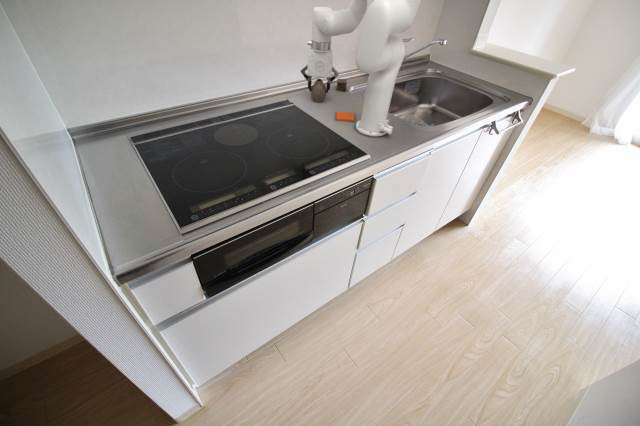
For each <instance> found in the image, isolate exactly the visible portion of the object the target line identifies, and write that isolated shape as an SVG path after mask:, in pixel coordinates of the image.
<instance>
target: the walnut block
mask: <svg viewBox="0 0 640 426" xmlns="http://www.w3.org/2000/svg"><path fill="white" fill-rule="evenodd" d="M336 79H337V80H336V91H337V92H346V91H347V84H348V80H347V79H345V78H336Z"/></svg>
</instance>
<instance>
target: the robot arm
mask: <svg viewBox="0 0 640 426" xmlns="http://www.w3.org/2000/svg"><path fill="white" fill-rule="evenodd" d="M421 2H422V0H373V1H372V2H370V4H369V5H368V3H369V0H350V2H349V5H348V7H347V8H346V9H337V10H333V9H332V8H331V7H329V6H322V5H321V6H315V7H314V8H313V11H312V22H311V23H312V24H311V40H308V41H307V45H308V46H310V48H309V51H308V56H307V64H306V65H305V66H304V67H302V68H301V69H300V73H301V75H302V77H304V79H305V80H306V82H307V89H308V92H310V93H311V88H312V83H313V82H312V78H323V79H326V80H327V82H326V94H328V93H329V91H330V90H331V84H332V83H333V82H334V80H335V79H337V78H338V76H339V75H340V73H339V71H338V70H337V69H336V68H335V67H334V66H333V64H334V63H333V62H334V61H333V56H334V55H333V49H332V48H331V46H332V37H337V36H341V35H342V36H343V35H348V34H352V33H353V32H354V31H355V30H356V29H357V28H358V27H359V25H360V24H362V25H361V29H360V32H359V36H358V39H357V44H356V47H355V53H354V61H355V66H356V68H357V69H358V71H359V72H361V73H362V74H367V75H368V77H367V80H366V87H365V92H364V97H363V104H362V110H361V116H360V119H359V120H358V121H356V123H355V130H357V132H359V134H360V133H361V134H362V135H365V136H368V137H382V136H385V135H387V134H388V135H392V133H393V131H394V127H393V126H392V125H389V122H390V120H389V119H387V118H388V114H389V109H390V106H391V102H392V98H393V93H394V89H395V85H396V81H397V77H398V75H399V72H400V69H401V66H402V64H403V62H404V58H405V54H406V46H405V43H404V41H403V40H402V39H401V37H399V36H397V35H399V34H402V33H405V32H406V31H408V30H410V28H411V26H412V25H413V22H414V21H415V18H416V15H417V13H418V10H419V7H420V5H421ZM362 20H363V21H362ZM361 22H362V23H361ZM306 72H307V73H306ZM332 74H333V75H332Z"/></svg>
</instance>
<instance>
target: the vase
mask: <svg viewBox="0 0 640 426" xmlns="http://www.w3.org/2000/svg"><path fill="white" fill-rule="evenodd" d="M326 90H327V85H325V84H324V82H323V79H321V78H317V79H316V80H315V82H314V83H313V84H312V85H311V91H310V96H311V99H312V100H313V102H316V103H321V102H323V101H324V100H325V99H326V97H327V93H326Z"/></svg>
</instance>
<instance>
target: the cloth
mask: <svg viewBox="0 0 640 426" xmlns="http://www.w3.org/2000/svg"><path fill="white" fill-rule="evenodd" d="M335 114H336V115H335V117H336V118H335V120H336V121H342V122H343V121H344V122H355V113H354V112H345V111H336V113H335Z"/></svg>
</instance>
